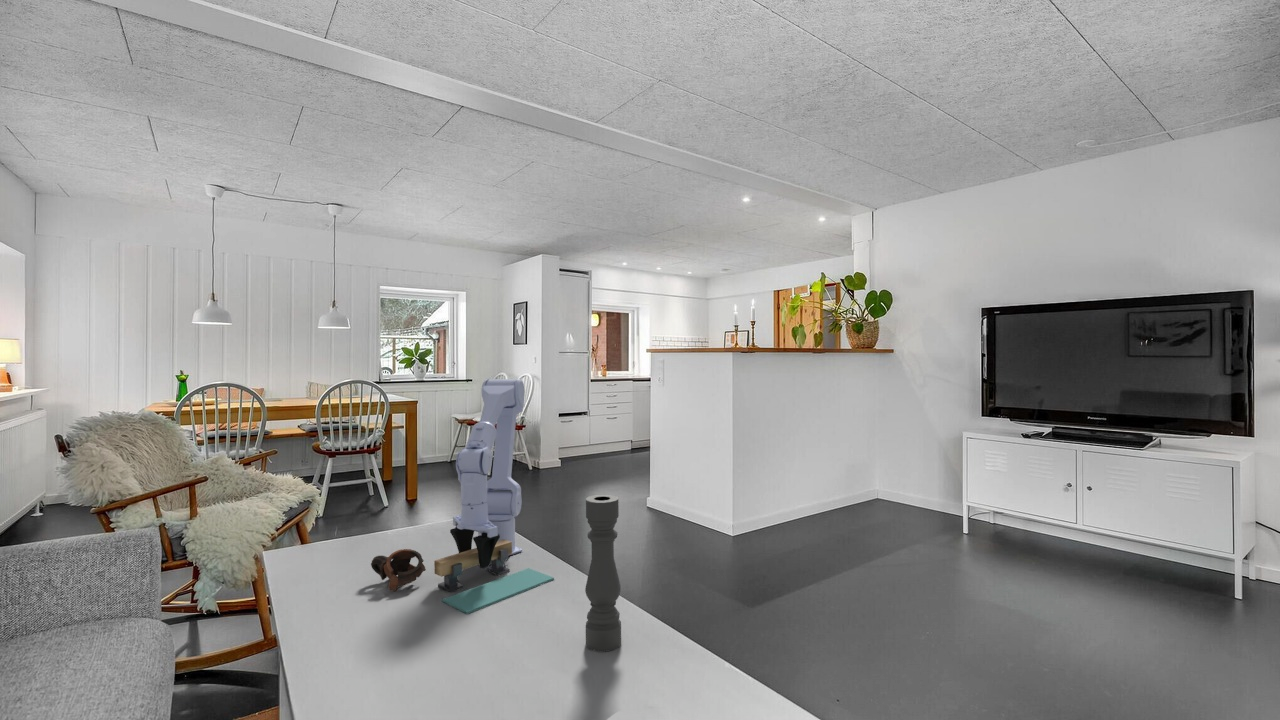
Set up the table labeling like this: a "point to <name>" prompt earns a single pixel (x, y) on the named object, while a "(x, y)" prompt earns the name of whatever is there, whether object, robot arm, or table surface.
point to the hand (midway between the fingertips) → (475, 562)
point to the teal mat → (497, 590)
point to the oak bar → (467, 558)
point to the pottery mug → (398, 567)
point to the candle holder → (602, 575)
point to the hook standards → (496, 568)
